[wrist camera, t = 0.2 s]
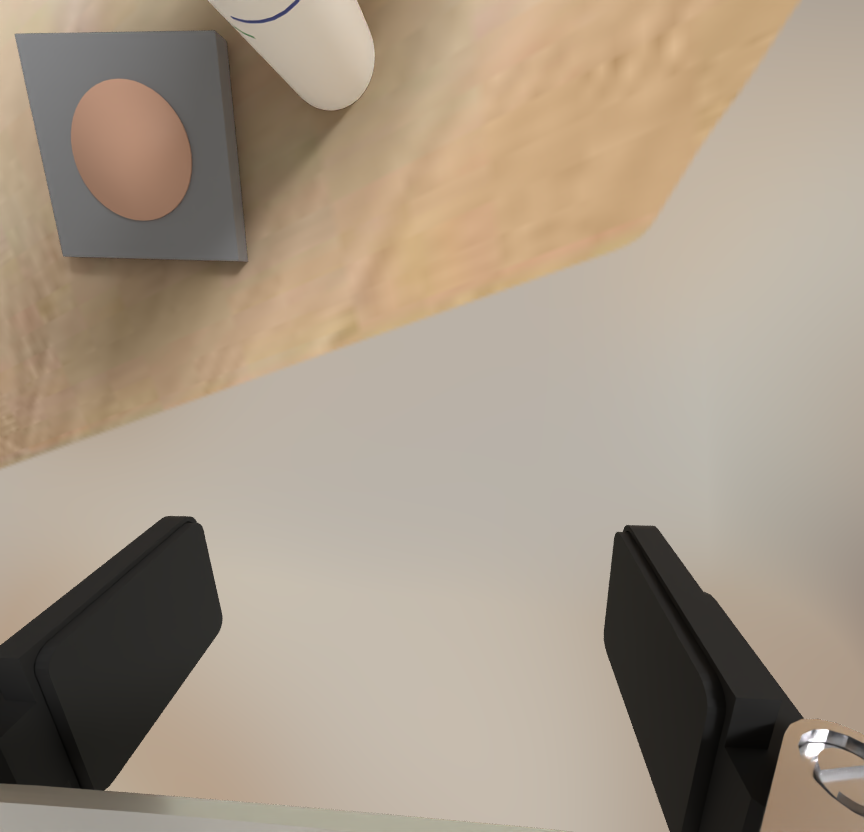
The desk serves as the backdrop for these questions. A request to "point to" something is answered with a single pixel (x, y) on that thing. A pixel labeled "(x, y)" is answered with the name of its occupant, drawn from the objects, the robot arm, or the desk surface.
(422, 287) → the desk surface
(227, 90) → the board
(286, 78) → the cylindrical container
